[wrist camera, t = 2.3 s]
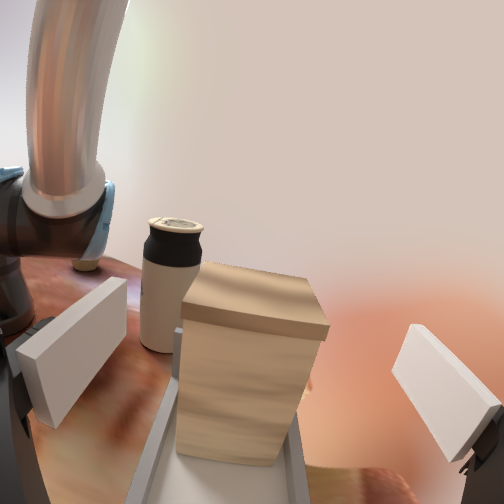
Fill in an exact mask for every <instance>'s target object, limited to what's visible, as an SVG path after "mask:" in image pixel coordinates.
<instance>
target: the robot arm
mask: <svg viewBox="0 0 504 504" xmlns="http://www.w3.org/2000/svg"><path fill="white" fill-rule="evenodd" d="M129 2H130V0H37V2H36V7H35V12H34V18H33V23H32V30H31V37H30V45H29V54H28V65H27V83H26V127H27V145H28V155H29V156H28V157H29V166H30V169H29V170H28V171H27V173H26V175H25V176H23V174H24V172H23V168H22V167H21V166H16V167H7V168H1V169H0V504H51V503H50V500H49V497H48V494H47V491H46V488H45V485H44V482H43V478H42V475H41V471H40V468H39V464H38V460H37V456H36V452H35V447H34V443H33V438H32V433H31V427H30V421H29V419H28V416H27V414H28V413H29V411H30V410H31V409H32V408H33V410H34V413H35V416H36V418H37V420H38V421H40V422H42V423H43V424H45V425H47V426H49V427H51V428H54V429H57V428H58V426H59V425H60V423H61V422H62V420H63V419H64V418H65V416H66V415H67V413H68V412H69V411H70V409H71V408H72V406H73V405H74V404H75V402H76V401H77V399H78V398H79V397H80V395H81V394H82V393H83V391H84V390H85V388H86V387H87V386H88V384H89V383H90V382H91V380H92V379H93V378H94V376H95V375H96V374H97V372H98V371H99V370H100V368H101V367H102V366H103V364H104V363H105V362H106V360H107V359H108V358H109V357H110V355H111V354H112V353H113V351H114V350H115V349H116V347H117V346H118V345H119V344H120V342H121V341H122V340H123V338H124V337H125V336H126V335H127V333H126V307H127V280H126V279H121V278H117V277H113V276H112V277H110V278H109V279H108V280H106V281H105V282H103V283H102V284H101V285H99V286H98V287H96V288H95V289H94V290H92V291H91V292H90V293H88V294H87V295H85V296H84V297H83V298H81V299H80V300H79V301H77V302H76V303H75V304H73V305H72V306H71V307H69V308H68V309H67V310H65V311H64V312H63V313H61V314H60V315H59V316H57V317H56V318H55V317H49V318H46V319H43V320H41V321H39V322H38V323H37V324H35V325H34V326H33V327H32V329H31V328H30V329H29V330H27V331H26V332H25V334H24V333H23V334H22V335H21V336H19V337H18V338H17V339H15V340H14V341H13V342H12V343H10V344H9V345H8V346H7V347H5V344H4V340H3V337H6V336H9V335H12V334H15V333H17V332H19V331H21V330H22V329H24V328H25V327H26V326H27V325H29V323H30V322H31V321H32V319H33V317H34V305H33V299H32V296H31V293H30V291H29V288H28V286H27V283H26V281H25V278H24V275H23V273H22V270H21V264H20V257H32V258H49V259H63V260H75V261H78V262H80V261H82V260H97V259H99V258H100V257H101V256H102V254H103V253H104V250H105V247H106V243H107V238H108V233H109V224H110V221H111V216H112V210H113V203H114V194H115V186H114V184H113V183H112V182H110V181H108V180H106V179H105V173H104V170H103V168H102V167H101V165H100V164H99V163H98V162H97V161H96V155H97V145H98V136H99V129H100V122H101V114H102V109H103V103H104V98H105V92H106V87H107V82H108V77H109V73H110V68H111V64H112V60H113V56H114V52H115V48H116V44H117V40H118V37H119V33H120V30H121V26H122V23H123V20H124V17H125V13H126V10H127V8H128V5H129ZM392 373H393V374H394V376H395V377H396V379H397V380H398V382H399V383H400V385H401V386H402V388H403V389H404V391H405V393H406V394H407V395H408V397H409V399H410V400H411V402H412V403H413V405H414V406H415V408H416V410H417V411H418V413H419V414H420V416H421V418H422V419H423V421H424V422H425V424H426V425H427V427H428V429H429V430H430V432H431V433H432V435H433V437H434V438H435V440H436V442H437V443H438V445H439V447H440V448H441V450H442V452H443V453H444V455H445V456H446V458H447V460H448V462H449V463H451V462H454V461H458V460H461V459H463V458H464V457H465V455H466V454H467V453H468V452H469V450H470V449H471V448H472V449H473V450H474V452H475V453H474V454H473V455H472V456H471V458H470V459H469V460H468V461H467V462H466V463H465V465H464V466H463V467H462V468H461V469H460V471H459V473H462V472H463V470H464V469H466V468H468V470H467V471H466V472H465V473H464V475H467V478H466V483H465V488H464V492H463V496H462V501H461V504H504V407H503V406H502V403H501V402H500V401H499V400H498V399H497V398H496V397H495V396H494V395H493V394H492V393H491V392H490V391H489V390H488V388H487V387H486V386H485V385H484V384H483V383H482V382H481V381H480V380H479V379H478V378H477V377H476V376H475V375H474V374H473V373H472V372H471V371H470V370H469V369H468V368H467V367H466V366H465V365H464V364H463V363H462V362H461V361H460V360H459V359H458V358H457V357H456V356H455V355H454V354H452V352H451V351H450V350H449V349H447V348H446V346H445V345H443V344H442V343H441V342H440V341H439V340H438V339H437V338H436V337H435V336H434V335H433V334H432V333H431V332H430V331H429V330H428V329H426V328H425V327H424V326H423V325H418V324H411V325H410V327H409V330H408V333H407V335H406V338H405V340H404V343H403V345H402V348H401V351H400V353H399V355H398V357H397V360H396V362H395V364H394V367H393V369H392Z"/></svg>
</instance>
